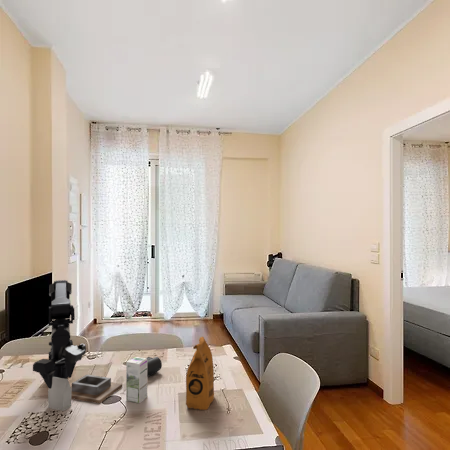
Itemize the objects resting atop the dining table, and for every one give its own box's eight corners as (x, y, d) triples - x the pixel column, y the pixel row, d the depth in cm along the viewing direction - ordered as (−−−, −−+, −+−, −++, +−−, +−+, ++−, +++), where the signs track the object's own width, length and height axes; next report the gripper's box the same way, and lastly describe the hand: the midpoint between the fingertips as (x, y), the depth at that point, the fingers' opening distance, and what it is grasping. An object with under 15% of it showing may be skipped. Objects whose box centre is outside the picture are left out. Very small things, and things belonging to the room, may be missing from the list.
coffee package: (181, 409, 119) (181, 345, 120) (192, 392, 131) (192, 335, 132) (208, 412, 117) (208, 347, 118) (217, 395, 129) (217, 336, 130)
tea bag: (63, 410, 118) (63, 381, 118) (48, 407, 120) (48, 378, 121) (71, 405, 122) (71, 377, 122) (56, 402, 124) (56, 374, 124)
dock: (59, 396, 129) (59, 385, 129) (84, 381, 142) (84, 370, 142) (99, 403, 123) (99, 391, 123) (122, 386, 136) (122, 376, 137)
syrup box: (147, 396, 128) (148, 357, 129) (139, 404, 123) (139, 363, 123) (134, 394, 130) (135, 355, 131) (125, 401, 125) (125, 361, 125)
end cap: (145, 381, 142) (145, 365, 142) (133, 377, 145) (133, 361, 145) (162, 373, 150) (162, 357, 150) (150, 370, 154) (150, 354, 154)
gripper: (58, 349, 110) (58, 398, 110) (96, 332, 128) (96, 375, 128) (31, 345, 114) (31, 393, 113) (72, 330, 131) (72, 371, 131)
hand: (60, 382), depth 121 cm, fingers open, 9 cm apart
